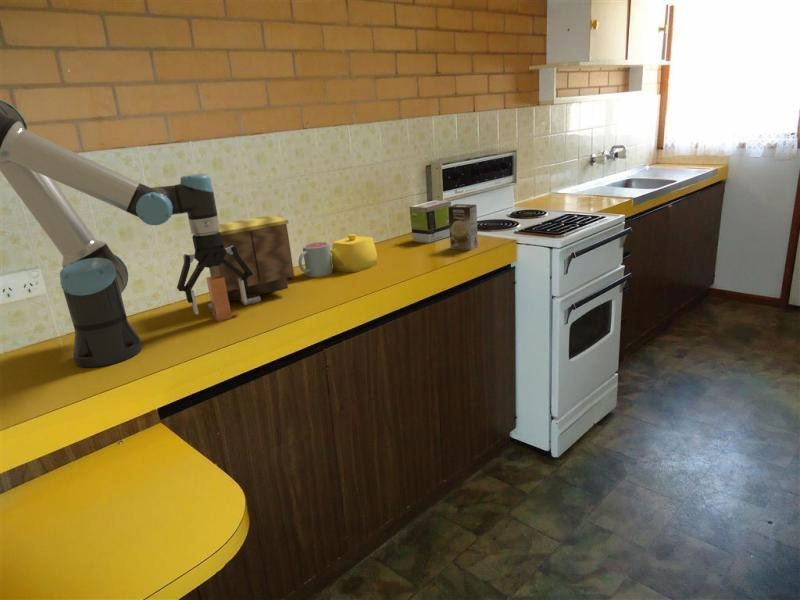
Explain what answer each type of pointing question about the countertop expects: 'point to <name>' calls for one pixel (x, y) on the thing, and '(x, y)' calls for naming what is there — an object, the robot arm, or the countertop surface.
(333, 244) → the teapot
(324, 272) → the mug
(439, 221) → the tea box
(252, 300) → the token
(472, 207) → the coffee box
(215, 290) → the upright terracotta brick
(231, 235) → the cabinet
